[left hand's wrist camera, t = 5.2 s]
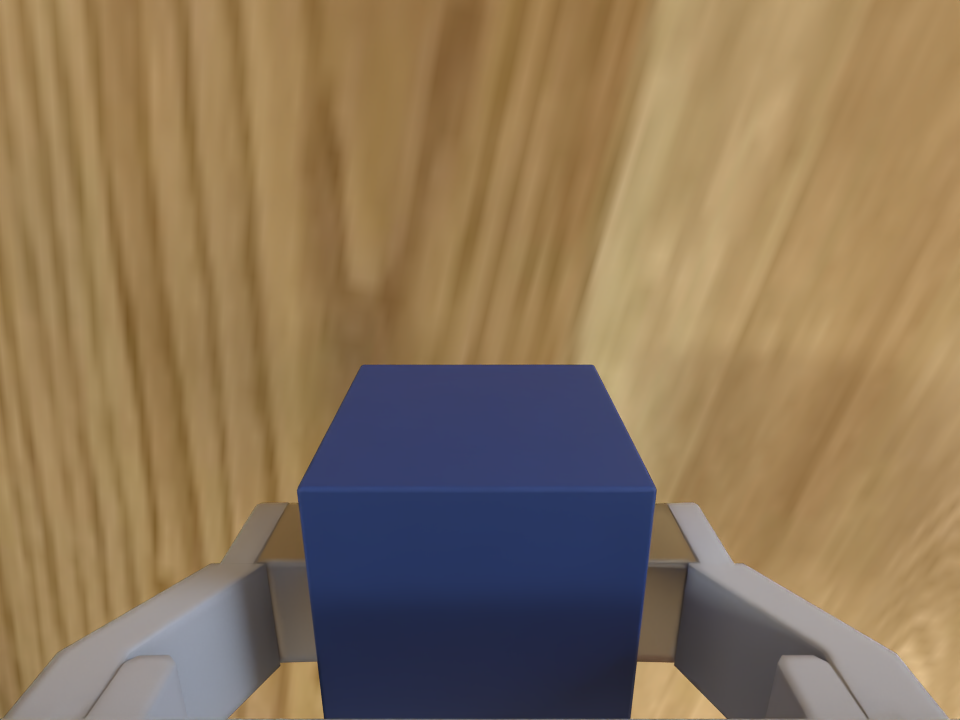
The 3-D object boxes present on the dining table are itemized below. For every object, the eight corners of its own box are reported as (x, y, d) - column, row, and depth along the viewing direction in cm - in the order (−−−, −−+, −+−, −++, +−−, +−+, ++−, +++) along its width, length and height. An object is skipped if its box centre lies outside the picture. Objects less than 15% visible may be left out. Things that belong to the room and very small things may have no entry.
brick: (376, 591, 13) (331, 793, 9) (360, 363, 11) (294, 488, 7) (578, 591, 13) (623, 793, 9) (594, 363, 11) (659, 488, 7)
